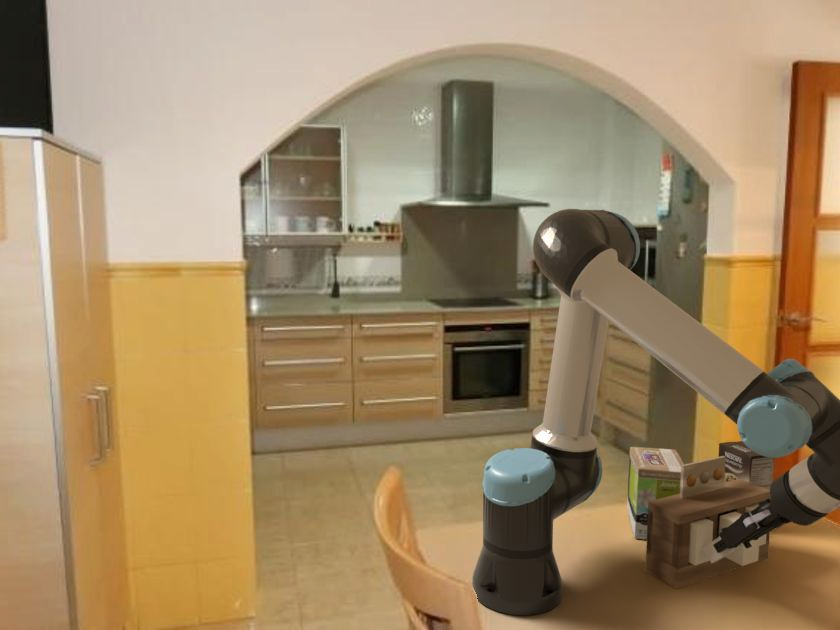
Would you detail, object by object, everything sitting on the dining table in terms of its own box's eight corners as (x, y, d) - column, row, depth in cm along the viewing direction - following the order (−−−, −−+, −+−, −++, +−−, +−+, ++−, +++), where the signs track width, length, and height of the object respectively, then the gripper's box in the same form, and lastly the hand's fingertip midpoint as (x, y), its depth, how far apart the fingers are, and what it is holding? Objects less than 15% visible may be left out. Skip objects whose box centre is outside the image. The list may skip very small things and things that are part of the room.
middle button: (717, 553, 119) (719, 515, 118) (733, 548, 121) (735, 511, 120) (742, 565, 114) (744, 526, 114) (758, 560, 116) (760, 522, 115)
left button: (672, 553, 119) (673, 515, 118) (688, 548, 121) (689, 511, 120) (695, 565, 115) (697, 526, 114) (711, 560, 116) (713, 521, 116)
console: (645, 570, 121) (649, 469, 119) (735, 542, 132) (740, 448, 130) (676, 588, 115) (681, 481, 112) (768, 557, 126) (774, 459, 123)
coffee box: (713, 515, 145) (717, 442, 143) (737, 511, 147) (741, 439, 145) (745, 532, 136) (750, 455, 134) (771, 528, 138) (775, 452, 136)
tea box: (687, 544, 131) (690, 471, 130) (633, 539, 133) (636, 468, 132) (673, 513, 146) (676, 447, 144) (625, 509, 148) (628, 444, 146)
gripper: (797, 524, 93) (695, 585, 109) (853, 506, 99) (748, 567, 115) (763, 475, 97) (670, 542, 113) (819, 461, 103) (723, 526, 119)
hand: (710, 554), depth 114 cm, fingers closed
